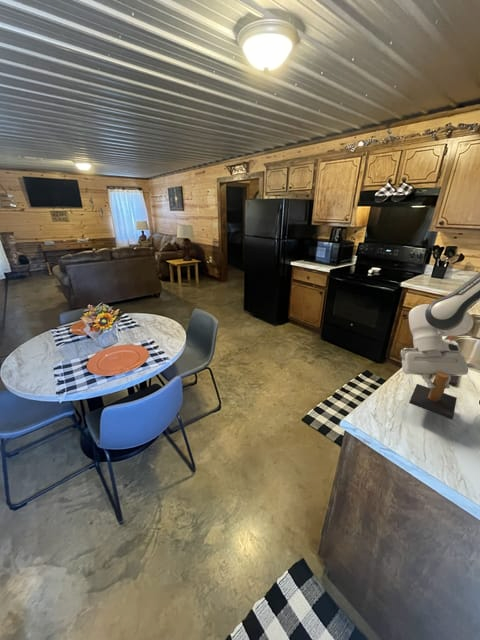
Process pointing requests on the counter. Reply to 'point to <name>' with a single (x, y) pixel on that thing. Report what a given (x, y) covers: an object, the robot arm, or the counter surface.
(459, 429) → the counter surface
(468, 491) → the counter surface
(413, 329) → the robot arm
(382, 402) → the counter surface
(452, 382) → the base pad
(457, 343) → the beverage cup
